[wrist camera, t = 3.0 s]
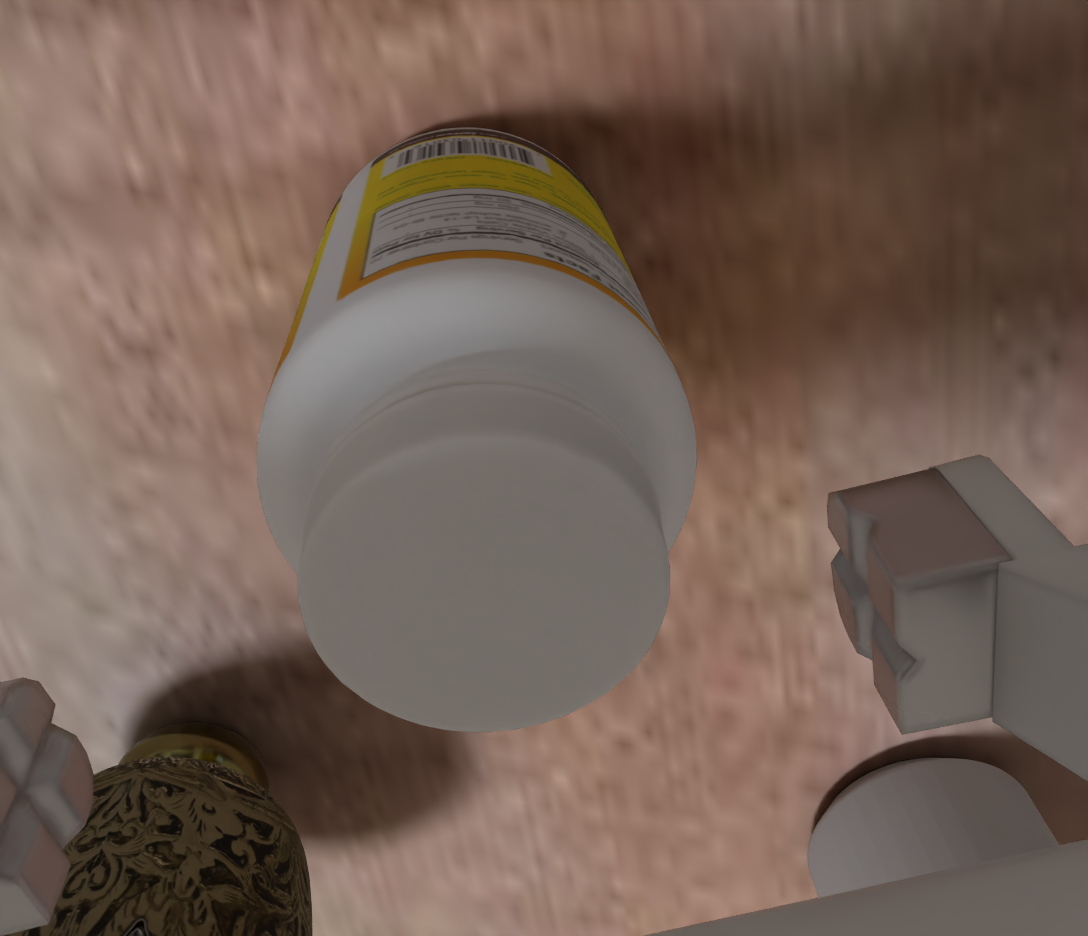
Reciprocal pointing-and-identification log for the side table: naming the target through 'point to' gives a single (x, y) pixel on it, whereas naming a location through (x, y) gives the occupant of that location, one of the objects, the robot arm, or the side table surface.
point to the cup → (184, 846)
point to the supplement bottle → (475, 440)
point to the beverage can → (922, 823)
